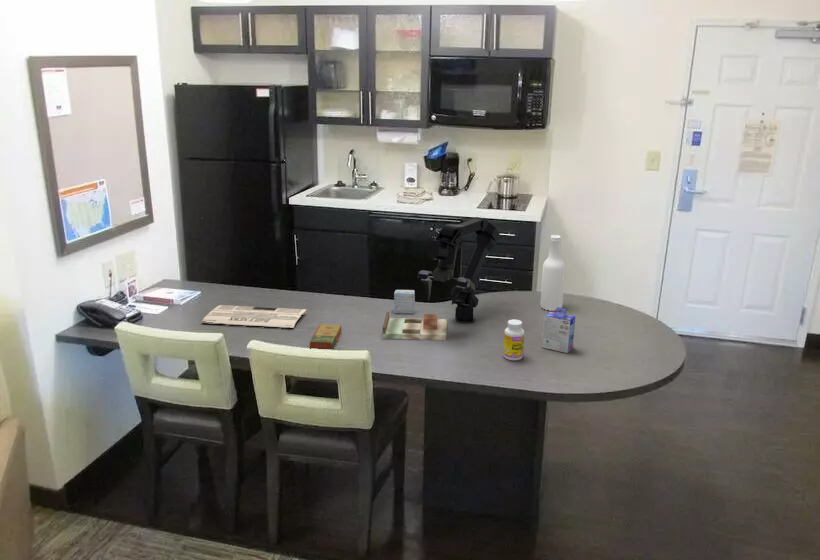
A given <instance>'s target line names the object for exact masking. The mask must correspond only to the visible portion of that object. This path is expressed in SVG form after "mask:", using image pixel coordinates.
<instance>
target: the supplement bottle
mask: <svg viewBox="0 0 820 560" xmlns="http://www.w3.org/2000/svg"><path fill="white" fill-rule="evenodd" d="M522 327H523V321H522V320H520V319H515V318H514V319H513V318H512V319H508V321H507V327H506V328H505V329H504V333H503V334H504V337H503V357H504V358H505V359H507V360H509V361H520V360H521V359H523V357H524V345H525V330H524V329H523V328H522Z"/></svg>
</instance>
